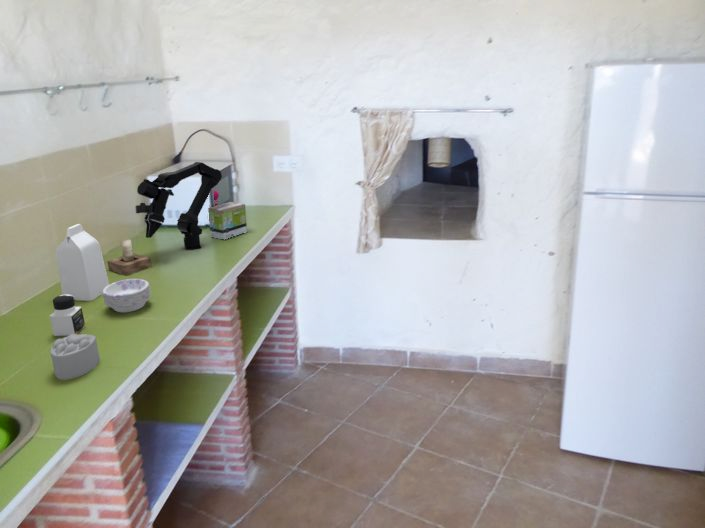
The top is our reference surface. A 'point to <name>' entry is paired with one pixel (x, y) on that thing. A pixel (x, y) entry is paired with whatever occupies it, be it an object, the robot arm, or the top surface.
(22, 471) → the top surface
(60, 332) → the medicine bottle
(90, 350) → the lumpy-topped squat cylinder
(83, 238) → the milk
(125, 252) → the peg
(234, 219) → the tea box
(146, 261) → the brown rectangular frame
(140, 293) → the white patterned bowl
